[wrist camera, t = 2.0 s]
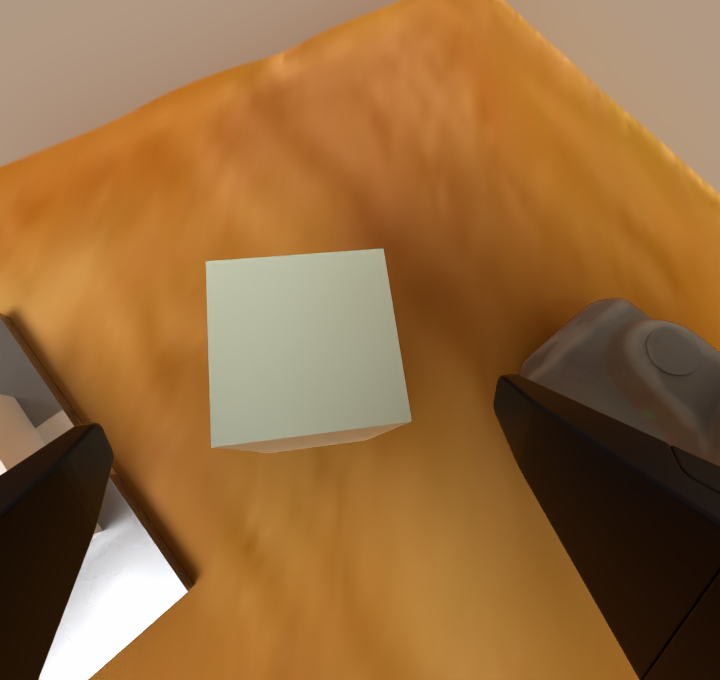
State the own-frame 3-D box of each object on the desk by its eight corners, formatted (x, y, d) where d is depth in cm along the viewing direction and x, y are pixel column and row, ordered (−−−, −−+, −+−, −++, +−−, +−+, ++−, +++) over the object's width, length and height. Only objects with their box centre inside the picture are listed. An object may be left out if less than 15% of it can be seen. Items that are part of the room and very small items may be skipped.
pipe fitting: (769, 486, 19) (1156, 499, 10) (659, 604, 18) (981, 753, 8) (578, 311, 23) (726, 190, 13) (474, 399, 21) (553, 337, 12)
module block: (365, 440, 19) (411, 421, 9) (268, 453, 18) (211, 447, 9) (353, 348, 20) (383, 248, 10) (262, 358, 19) (205, 261, 10)
